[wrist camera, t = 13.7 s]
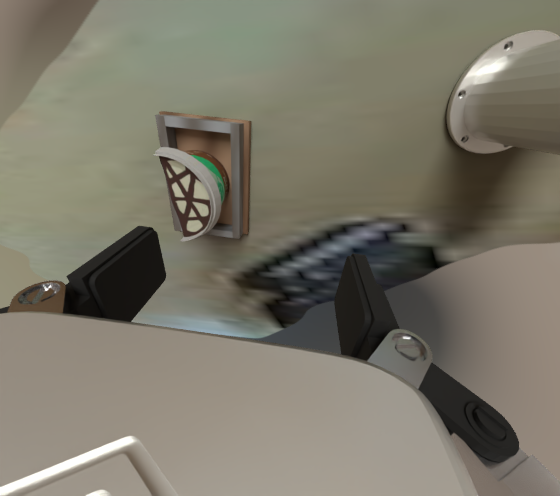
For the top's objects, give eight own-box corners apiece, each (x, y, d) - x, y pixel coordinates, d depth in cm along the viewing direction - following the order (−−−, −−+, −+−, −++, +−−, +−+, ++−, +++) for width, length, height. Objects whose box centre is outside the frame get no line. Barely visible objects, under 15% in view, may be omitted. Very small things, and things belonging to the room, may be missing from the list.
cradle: (251, 121, 33) (245, 122, 30) (248, 231, 43) (244, 240, 40) (163, 111, 34) (148, 111, 31) (180, 222, 43) (170, 231, 40)
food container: (242, 215, 40) (224, 244, 31) (208, 216, 41) (181, 244, 32) (229, 137, 34) (203, 146, 25) (189, 139, 34) (151, 149, 26)
